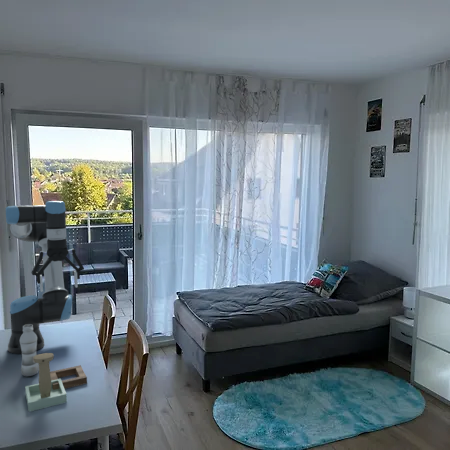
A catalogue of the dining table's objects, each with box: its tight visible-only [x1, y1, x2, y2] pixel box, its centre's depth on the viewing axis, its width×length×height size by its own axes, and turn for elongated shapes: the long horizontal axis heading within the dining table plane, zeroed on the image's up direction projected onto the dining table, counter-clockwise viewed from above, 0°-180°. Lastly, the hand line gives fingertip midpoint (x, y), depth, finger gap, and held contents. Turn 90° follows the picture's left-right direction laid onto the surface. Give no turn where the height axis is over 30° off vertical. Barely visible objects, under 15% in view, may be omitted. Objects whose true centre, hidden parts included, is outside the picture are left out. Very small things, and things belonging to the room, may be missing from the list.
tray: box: [24, 378, 68, 413], centre depth 148 cm, size 13×12×3 cm
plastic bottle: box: [20, 324, 39, 377], centre depth 165 cm, size 6×7×20 cm
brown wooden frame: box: [50, 364, 88, 390], centre depth 161 cm, size 12×12×2 cm
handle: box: [34, 352, 54, 398], centre depth 147 cm, size 5×6×15 cm
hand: (59, 289), depth 174 cm, fingers open, 13 cm apart
